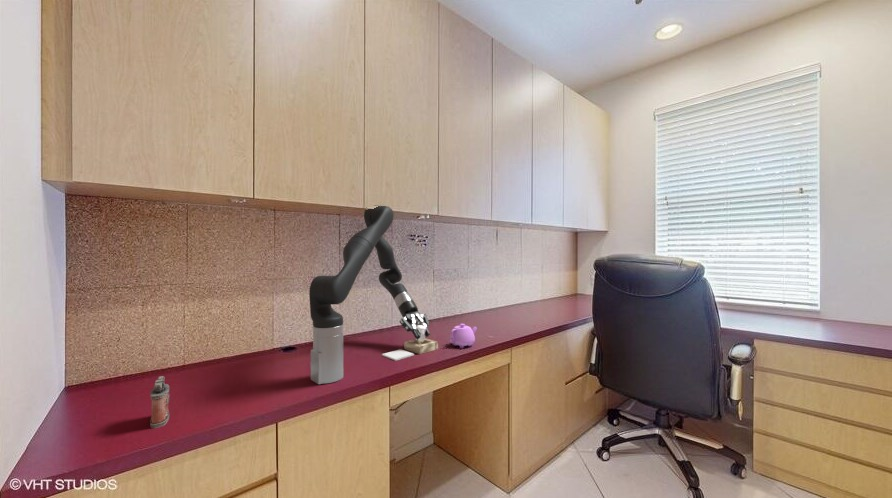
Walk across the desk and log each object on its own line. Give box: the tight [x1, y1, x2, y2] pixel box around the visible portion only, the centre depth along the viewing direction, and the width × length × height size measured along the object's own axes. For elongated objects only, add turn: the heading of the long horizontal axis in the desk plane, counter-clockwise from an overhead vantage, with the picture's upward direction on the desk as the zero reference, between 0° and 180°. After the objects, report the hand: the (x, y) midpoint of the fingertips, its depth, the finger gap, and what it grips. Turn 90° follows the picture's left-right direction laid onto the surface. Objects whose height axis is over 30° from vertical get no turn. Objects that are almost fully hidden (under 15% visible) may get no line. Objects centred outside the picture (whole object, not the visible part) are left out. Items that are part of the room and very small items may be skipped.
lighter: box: [149, 375, 170, 429], centre depth 80 cm, size 8×3×10 cm, turn 35°
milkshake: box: [415, 322, 426, 345], centre depth 138 cm, size 4×5×10 cm
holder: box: [403, 337, 439, 355], centre depth 138 cm, size 10×10×3 cm
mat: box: [381, 348, 415, 362], centre depth 130 cm, size 9×9×1 cm
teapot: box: [449, 323, 478, 349], centre depth 144 cm, size 10×15×9 cm
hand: (423, 336), depth 137 cm, fingers closed on milkshake, 4 cm apart
